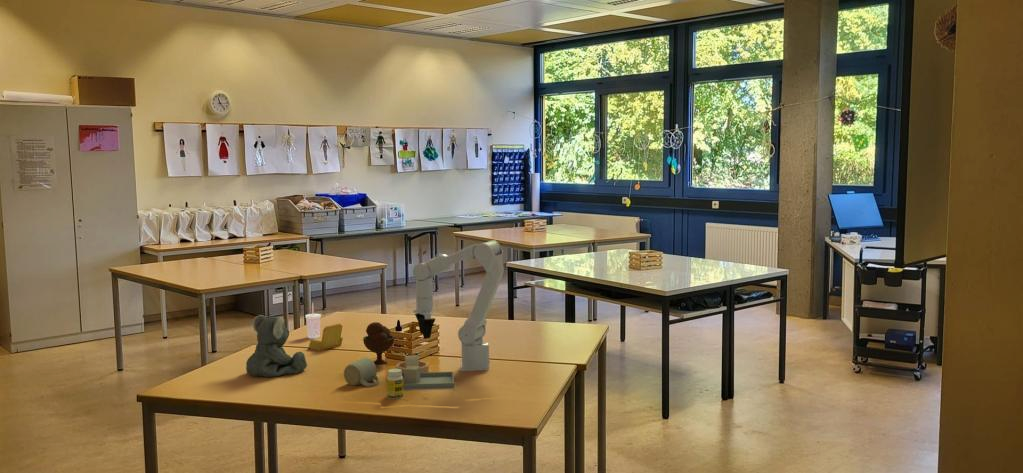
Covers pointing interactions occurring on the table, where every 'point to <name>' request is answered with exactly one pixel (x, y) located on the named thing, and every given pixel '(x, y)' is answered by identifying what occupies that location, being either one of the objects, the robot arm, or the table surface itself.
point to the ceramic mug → (361, 373)
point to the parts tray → (432, 381)
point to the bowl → (423, 366)
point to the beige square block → (412, 375)
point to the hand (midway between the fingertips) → (425, 335)
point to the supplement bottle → (394, 384)
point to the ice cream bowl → (378, 340)
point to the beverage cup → (313, 324)
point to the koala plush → (273, 350)
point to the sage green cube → (411, 361)
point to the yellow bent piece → (328, 338)
